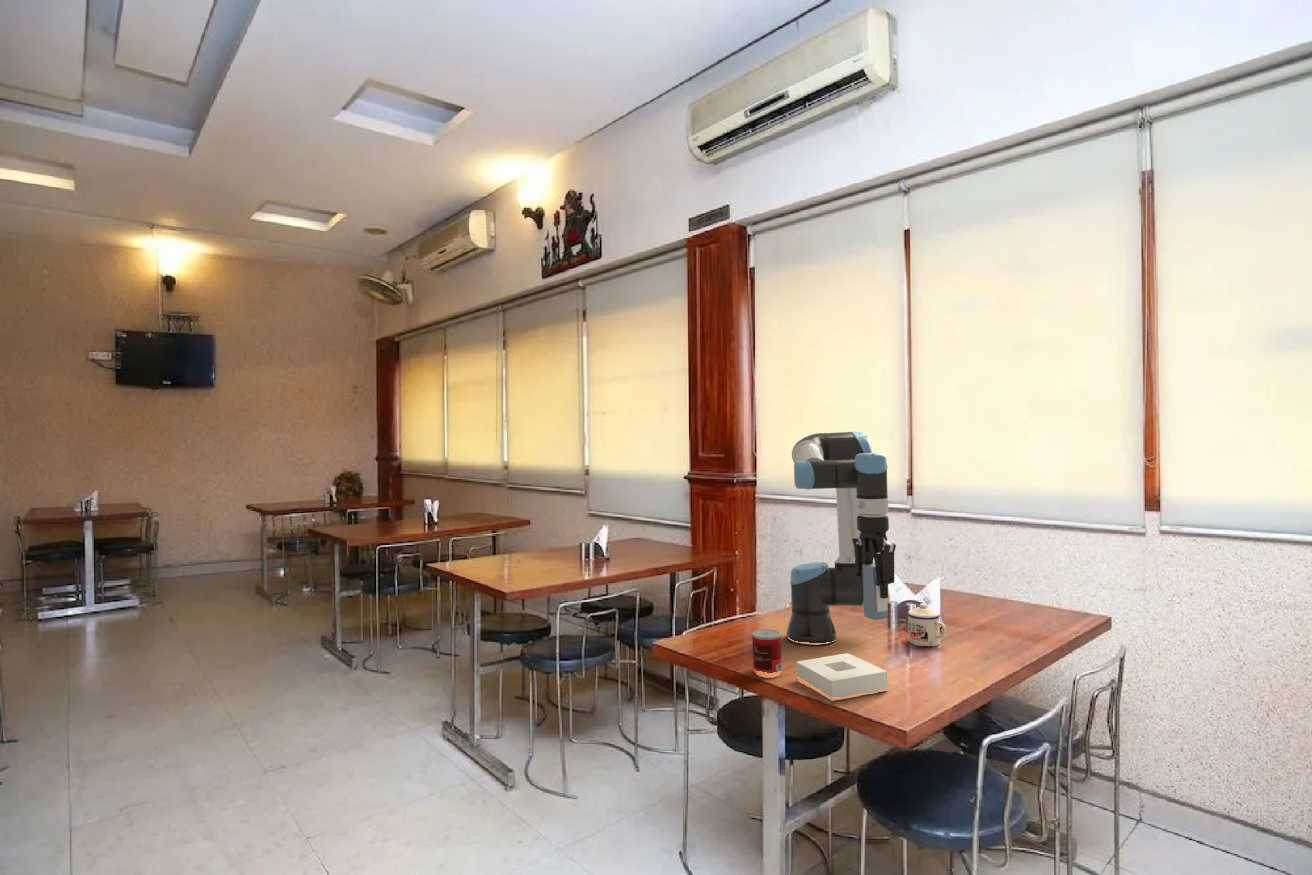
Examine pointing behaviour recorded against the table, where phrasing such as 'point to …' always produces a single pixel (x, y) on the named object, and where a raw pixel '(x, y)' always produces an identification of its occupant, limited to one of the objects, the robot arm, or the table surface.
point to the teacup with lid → (925, 626)
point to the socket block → (842, 675)
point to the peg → (871, 593)
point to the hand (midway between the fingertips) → (875, 608)
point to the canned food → (767, 650)
